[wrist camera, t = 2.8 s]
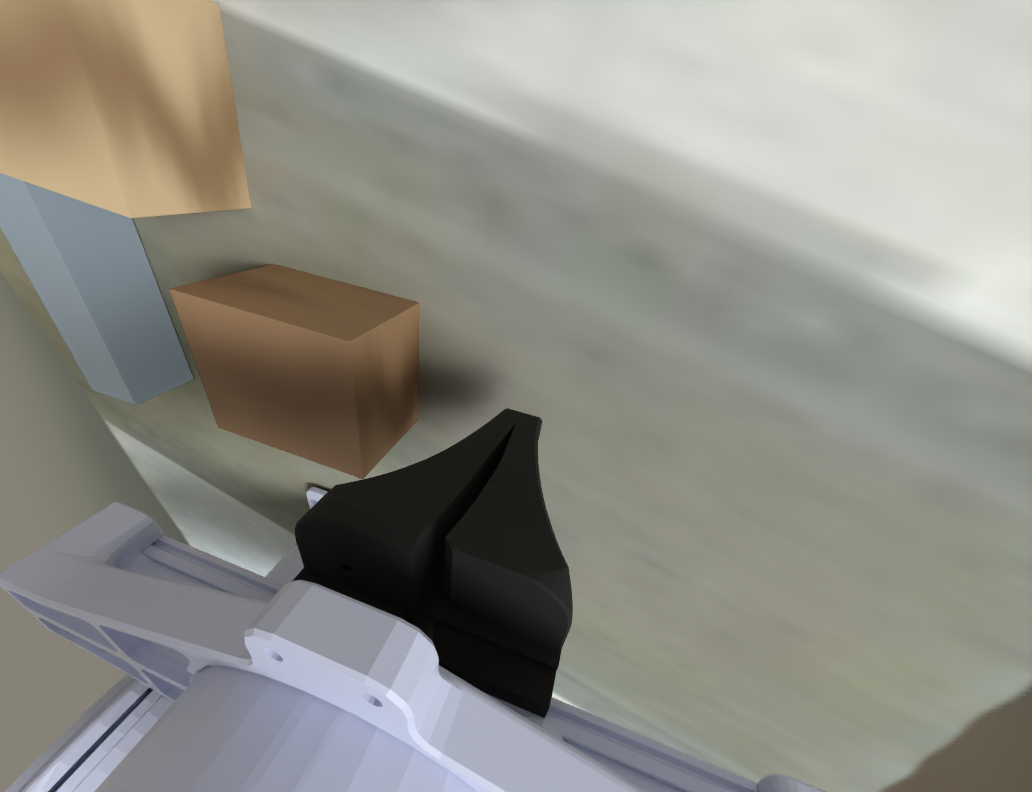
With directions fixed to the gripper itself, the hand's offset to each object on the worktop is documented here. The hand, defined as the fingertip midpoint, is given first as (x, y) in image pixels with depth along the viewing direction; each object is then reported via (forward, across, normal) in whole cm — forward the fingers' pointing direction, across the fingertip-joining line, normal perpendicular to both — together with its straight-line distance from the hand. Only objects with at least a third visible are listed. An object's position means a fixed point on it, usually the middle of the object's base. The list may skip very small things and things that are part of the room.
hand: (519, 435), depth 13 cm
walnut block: (+3, +9, 0) cm, 10 cm away
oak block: (+3, +16, -8) cm, 19 cm away
